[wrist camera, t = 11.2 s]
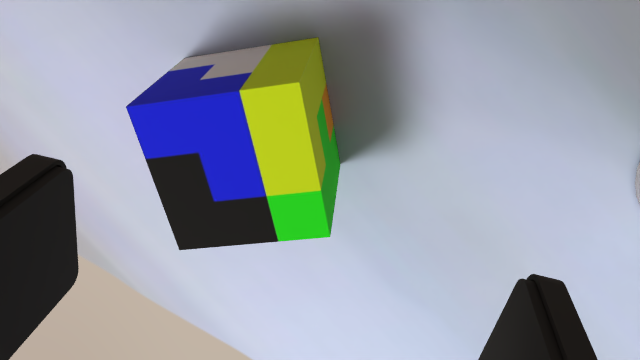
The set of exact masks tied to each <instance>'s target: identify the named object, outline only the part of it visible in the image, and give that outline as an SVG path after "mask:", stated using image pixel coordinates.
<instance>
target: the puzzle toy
mask: <svg viewBox="0 0 640 360" xmlns="http://www.w3.org/2000/svg"><path fill="white" fill-rule="evenodd" d="M126 108H127V111H128V113H129V116H130V119H131V121H132V124H133V127H134V129H135V132H136V135H137V137H138V140H139V143H140V146H141V148H142V151H143V154H144V156H145V159H146V162H147V164H148V167H149V170H150V172H151V175H152V178H153V180H154V183H155V186H156V188H157V191H158V194H159V196H160V199H161V202H162V204H163V207H164V210H165V213H166V215H167V218H168V221H169V223H170V226H171V229H172V231H173V234H174V237H175V239H176V242H177V245H178V247H179V250H186V249H197V248H209V247H220V246H232V245H243V244H255V243H266V242H277V241H289V240H300V239H312V238H323V237H330V235H331V227H332V220H333V213H334V206H335V199H336V191H337V184H338V177H339V170H340V159H339V154H338V148H337V142H336V136H335V131H334V125H333V119H332V113H331V108H330V102H329V96H328V90H327V85H326V79H325V73H324V68H323V62H322V56H321V50H320V45H319V39H318V38H311V39H305V40H298V41H292V42H285V43H279V44H272V45H266V46H260V47H253V48H247V49H240V50H234V51H227V52H221V53H215V54H208V55H202V56H195V57H189V58H184V59H183V60H182V61H180V62H179V63H178V64H177V65H176V66H174V67H173V68H172V69H171V70H170V71H168V72H167V73H166V74H165V75H164V76H162V77H161V78H160V79H159V80H157V81H156V82H155V83H154V84H153V85H151V86H150V87H149V88H148V89H147V90H145V91H144V92H143V93H142V94H141V95H139V96H138V97H137V98H136V99H135V100H133V101H132V102H131V103H130V104H129V105H127V106H126Z"/></svg>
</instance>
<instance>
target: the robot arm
mask: <svg viewBox="0 0 640 360" xmlns="http://www.w3.org/2000/svg"><path fill="white" fill-rule="evenodd" d="M635 187H636V196H637V199H638V202H639V204H640V162H639V165H638V168H637V173H636V180H635ZM77 275H78V254H77V237H76V220H75V203H74V185H73V174H72V172H71V170H69V169H66V165H65V163H64V162H63V161H61V160H58V159H54V158H49V157H45V156H41V155H37V154H32V155H30V156H28V157H26V158H25V159H23V160H22V161H20V162H19V163H17V164H16V165H14V166H13V167H11V168H10V169H8V170H7V171H5V172H4V173H2V174H1V175H0V360H9V359H10V357H11V356H12V355H13V354H14V353H15V352H16V350H17V349H18V348H19V347H20V346H21V345H22V343H23V342H24V341H25V340H26V339H27V338H28V337H29V336H30V334H31V333H32V332H33V331H34V330H35V329H36V328H37V326H38V325H39V324H40V323H41V322H42V321H43V320H44V318H45V317H46V316H47V315H48V314H49V313H50V311H51V310H52V309H53V308H54V307H55V306H56V305H57V303H58V302H59V301H60V300H61V299H62V298H63V296H64V295H65V294H66V293H67V292H68V291H69V290H70V289H71V287H72V286H73V285H74V283H75V281H76V278H77ZM478 360H597V357H596V355H595V353H594V350H593V348H592V346H591V343H590V341H589V339H588V337H587V334H586V332H585V330H584V327H583V325H582V323H581V320H580V318H579V316H578V314H577V311H576V309H575V307H574V304H573V302H572V300H571V297H570V295H569V293H568V291H567V288H566V286H565V284H564V283H563V282H562V281H560V280H556V279H552V278H548V277H544V276H540V275H536V274H532V275H530V276H529V277H528V278H527V280H526V279H519V280H518V282H517V283H516V285H515V287H514V289H513V291H512V293H511V295H510V297H509V299H508V301H507V303H506V305H505V307H504V309H503V311H502V313H501V315H500V317H499V319H498V321H497V323H496V325H495V327H494V329H493V331H492V333H491V335H490V337H489V339H488V341H487V343H486V345H485V347H484V349H483V351H482V353H481V355H480V357H479V359H478Z"/></svg>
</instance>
